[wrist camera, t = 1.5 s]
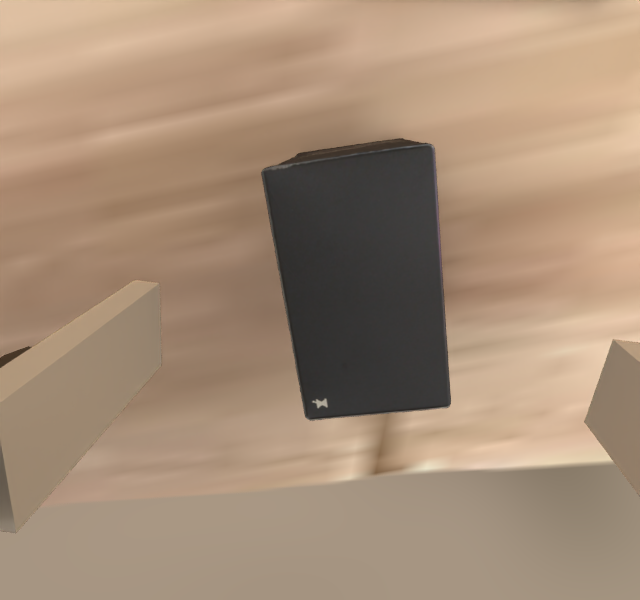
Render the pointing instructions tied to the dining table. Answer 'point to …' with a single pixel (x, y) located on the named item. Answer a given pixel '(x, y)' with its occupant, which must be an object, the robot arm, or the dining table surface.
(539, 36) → the dining table surface
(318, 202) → the small box
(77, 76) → the dining table surface
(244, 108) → the dining table surface
